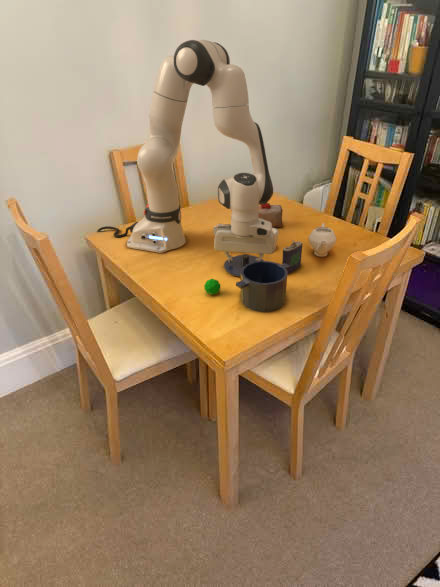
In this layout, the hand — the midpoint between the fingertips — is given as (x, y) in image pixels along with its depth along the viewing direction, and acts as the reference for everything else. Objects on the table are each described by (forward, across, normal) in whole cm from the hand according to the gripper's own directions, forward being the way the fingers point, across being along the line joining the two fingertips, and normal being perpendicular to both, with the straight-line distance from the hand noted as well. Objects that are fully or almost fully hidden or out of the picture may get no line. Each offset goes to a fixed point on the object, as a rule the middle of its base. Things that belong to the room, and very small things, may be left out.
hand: (244, 262), depth 143 cm
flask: (+2, +16, +1) cm, 16 cm away
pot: (+2, +8, -18) cm, 20 cm away
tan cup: (+2, +7, +16) cm, 18 cm away
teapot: (+2, +26, +14) cm, 30 cm away
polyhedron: (+2, -8, -17) cm, 19 cm away
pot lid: (+2, 0, 0) cm, 2 cm away
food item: (+2, +4, +36) cm, 36 cm away
